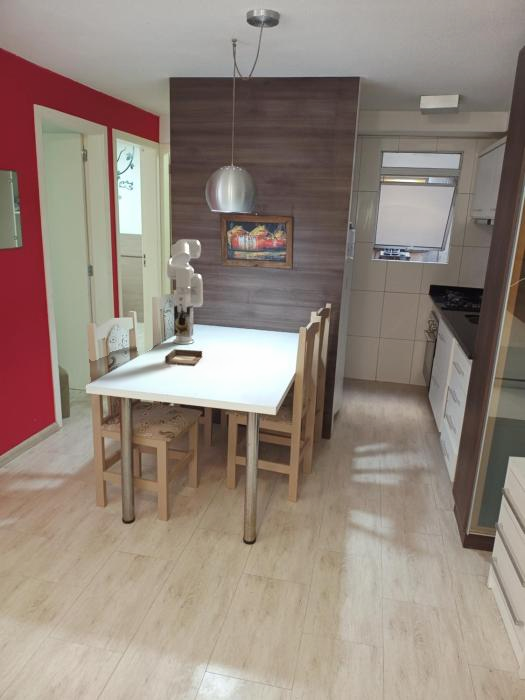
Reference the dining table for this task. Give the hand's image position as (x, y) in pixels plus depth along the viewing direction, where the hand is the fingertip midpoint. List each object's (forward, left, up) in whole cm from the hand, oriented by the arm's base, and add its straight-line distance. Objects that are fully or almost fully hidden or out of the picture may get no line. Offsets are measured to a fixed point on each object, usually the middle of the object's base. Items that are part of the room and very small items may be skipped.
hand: (183, 323), depth 282 cm
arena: (+2, 0, -20) cm, 21 cm away
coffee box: (0, 0, -7) cm, 7 cm away
